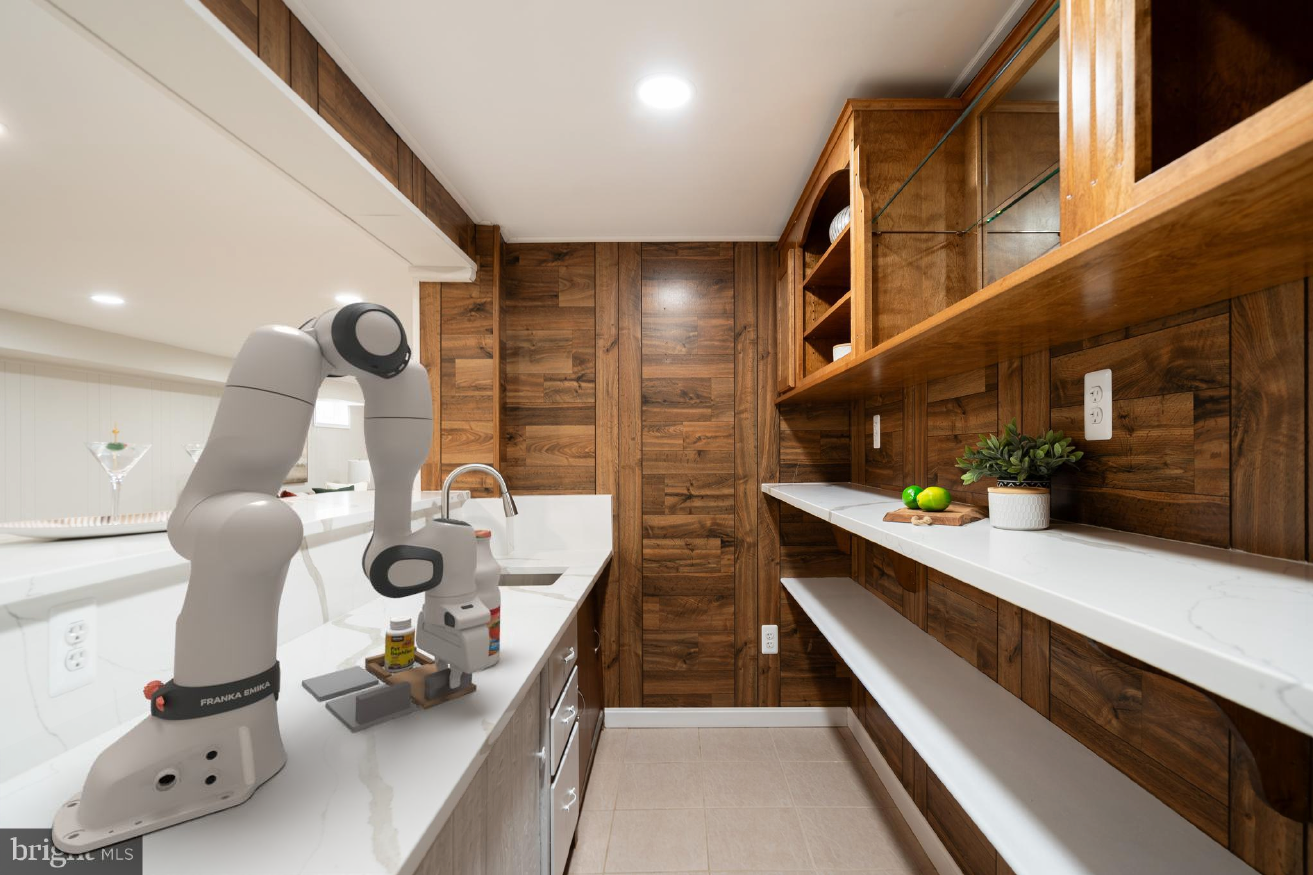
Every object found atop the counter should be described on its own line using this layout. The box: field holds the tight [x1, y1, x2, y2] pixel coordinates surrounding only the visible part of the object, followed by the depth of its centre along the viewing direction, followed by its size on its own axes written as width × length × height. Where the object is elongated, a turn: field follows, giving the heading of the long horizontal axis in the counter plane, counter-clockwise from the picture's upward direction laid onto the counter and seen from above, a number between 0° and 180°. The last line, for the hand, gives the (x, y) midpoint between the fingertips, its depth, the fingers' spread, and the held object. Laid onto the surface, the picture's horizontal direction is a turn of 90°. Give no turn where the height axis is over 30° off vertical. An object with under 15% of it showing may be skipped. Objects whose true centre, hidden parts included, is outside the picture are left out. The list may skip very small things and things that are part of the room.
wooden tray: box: [364, 645, 478, 709], centre depth 104 cm, size 10×26×5 cm, turn 49°
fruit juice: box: [474, 529, 502, 670], centre depth 113 cm, size 9×9×28 cm
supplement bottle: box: [383, 615, 416, 673], centre depth 109 cm, size 6×6×10 cm
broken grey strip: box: [301, 665, 417, 734], centre depth 96 cm, size 10×26×5 cm, turn 49°
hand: (448, 683), depth 96 cm, fingers closed on wooden tray, 2 cm apart
